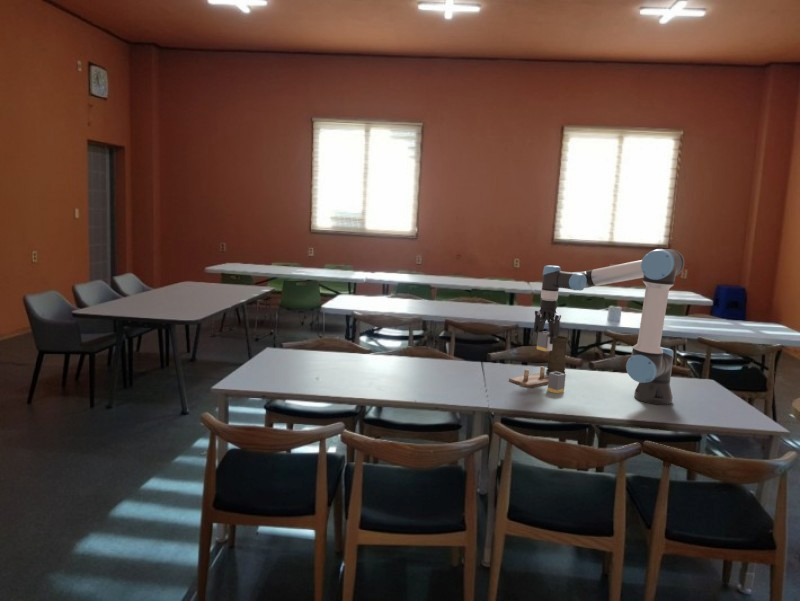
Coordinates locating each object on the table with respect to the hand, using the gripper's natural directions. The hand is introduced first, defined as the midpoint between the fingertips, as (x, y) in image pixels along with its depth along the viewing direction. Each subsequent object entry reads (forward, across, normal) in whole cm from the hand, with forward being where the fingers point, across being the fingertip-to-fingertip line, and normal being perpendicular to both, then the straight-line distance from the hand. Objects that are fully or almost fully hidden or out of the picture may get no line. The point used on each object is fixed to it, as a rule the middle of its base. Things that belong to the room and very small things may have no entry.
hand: (544, 349), depth 275 cm
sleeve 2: (+15, -15, +8) cm, 23 cm away
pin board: (+15, 0, +6) cm, 16 cm away
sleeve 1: (0, 0, 0) cm, 0 cm away
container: (+15, +5, -16) cm, 23 cm away
